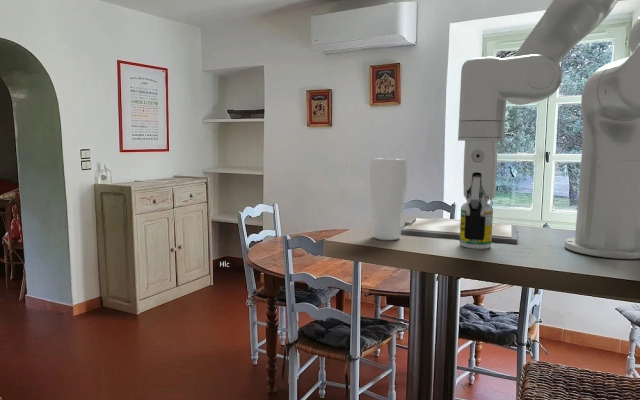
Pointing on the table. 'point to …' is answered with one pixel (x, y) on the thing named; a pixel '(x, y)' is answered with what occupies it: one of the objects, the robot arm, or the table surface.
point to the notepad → (455, 229)
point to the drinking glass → (387, 196)
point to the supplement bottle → (488, 227)
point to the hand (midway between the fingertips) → (475, 234)
